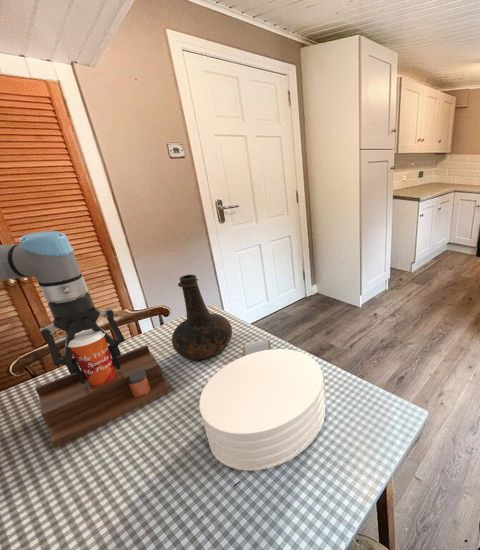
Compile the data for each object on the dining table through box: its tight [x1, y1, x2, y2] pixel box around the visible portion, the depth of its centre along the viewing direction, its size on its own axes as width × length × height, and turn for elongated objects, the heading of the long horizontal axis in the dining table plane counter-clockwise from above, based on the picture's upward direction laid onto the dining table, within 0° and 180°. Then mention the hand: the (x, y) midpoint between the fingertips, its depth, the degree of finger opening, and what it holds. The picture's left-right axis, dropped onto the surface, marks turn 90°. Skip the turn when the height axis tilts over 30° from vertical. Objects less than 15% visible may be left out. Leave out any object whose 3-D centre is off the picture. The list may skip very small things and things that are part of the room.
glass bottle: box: [171, 274, 233, 361], centre depth 99 cm, size 18×18×28 cm
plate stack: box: [198, 348, 326, 472], centre depth 75 cm, size 28×28×12 cm
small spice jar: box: [126, 371, 151, 397], centre depth 81 cm, size 4×4×5 cm
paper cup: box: [67, 328, 115, 385], centre depth 79 cm, size 8×8×14 cm
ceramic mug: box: [242, 338, 272, 357], centre depth 95 cm, size 11×8×8 cm
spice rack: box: [34, 344, 173, 449], centre depth 81 cm, size 16×24×9 cm, turn 138°
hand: (100, 373), depth 81 cm, fingers closed on paper cup, 7 cm apart
